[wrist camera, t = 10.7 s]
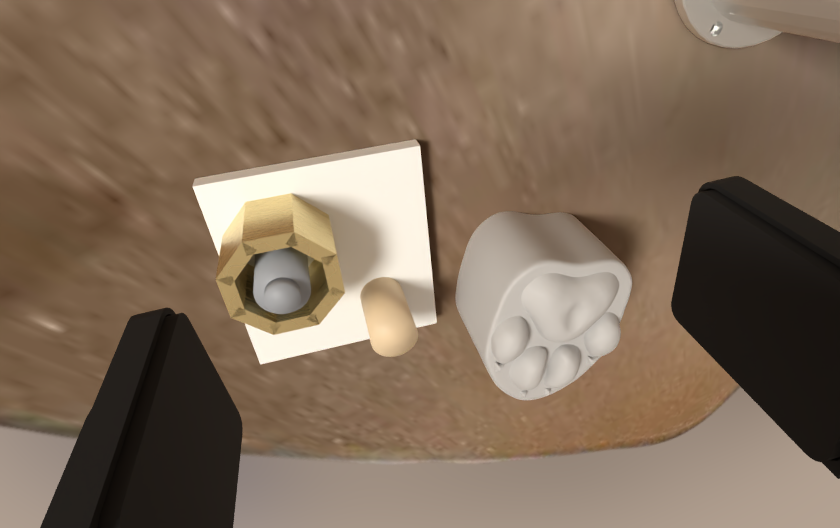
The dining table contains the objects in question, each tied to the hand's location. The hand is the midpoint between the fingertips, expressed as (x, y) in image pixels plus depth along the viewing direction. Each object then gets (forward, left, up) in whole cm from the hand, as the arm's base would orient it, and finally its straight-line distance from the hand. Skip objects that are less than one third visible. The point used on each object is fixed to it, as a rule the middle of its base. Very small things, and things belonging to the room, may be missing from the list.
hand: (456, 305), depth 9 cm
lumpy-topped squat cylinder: (-12, +20, -25) cm, 34 cm away
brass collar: (+5, +11, -23) cm, 26 cm away
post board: (+3, +14, -24) cm, 28 cm away
